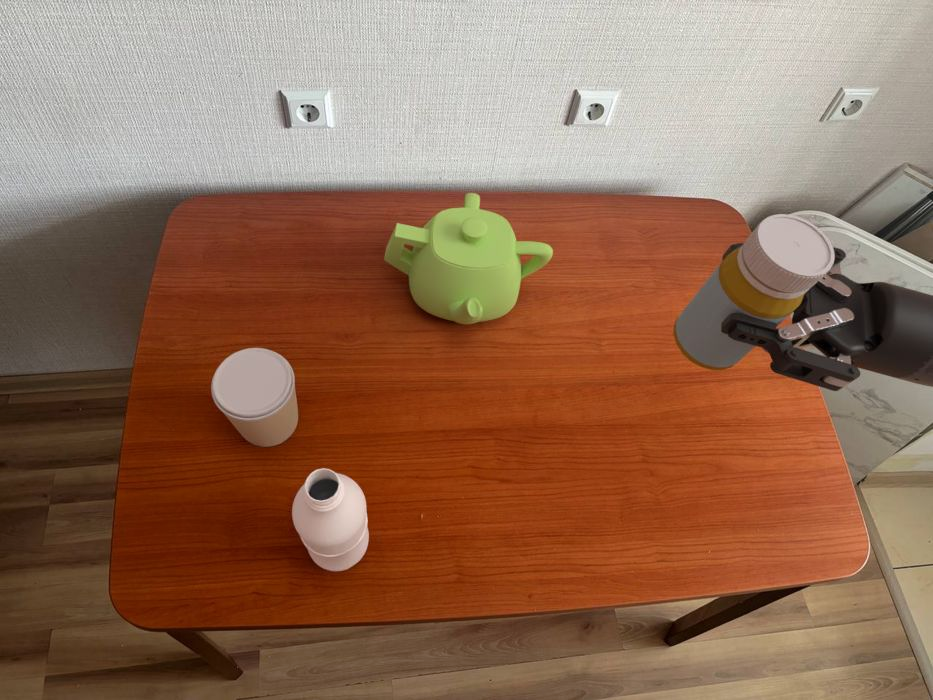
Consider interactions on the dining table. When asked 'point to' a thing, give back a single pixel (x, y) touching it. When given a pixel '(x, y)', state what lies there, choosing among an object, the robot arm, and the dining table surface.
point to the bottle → (753, 288)
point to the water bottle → (331, 519)
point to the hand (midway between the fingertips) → (726, 286)
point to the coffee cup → (257, 395)
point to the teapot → (464, 262)
